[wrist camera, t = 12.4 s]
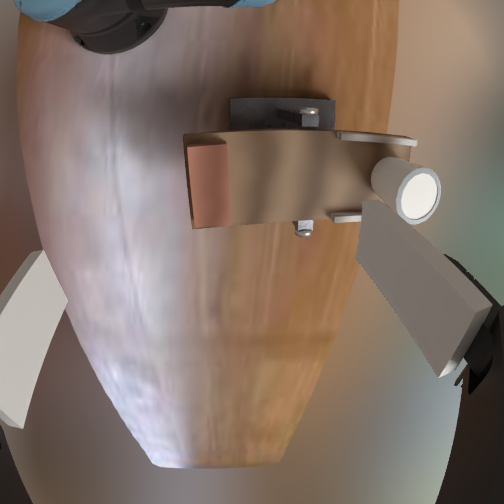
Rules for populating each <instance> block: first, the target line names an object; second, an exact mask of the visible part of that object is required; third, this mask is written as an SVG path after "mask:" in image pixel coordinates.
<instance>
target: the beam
mask: <svg viewBox="0 0 504 504" xmlns="http://www.w3.org/2000/svg"><path fill="white" fill-rule="evenodd" d="M183 144H184V156H185V167H186V178H187V187H188V197H189V206H190V215H191V223H192V229H201V228H212V227H224V226H236V225H248V224H261V223H274V222H289V221H303V220H319V219H331V220H332V221H333V222H334V223H340V222H357V221H361V216H362V205H363V201H366V200H377V199H379V200H380V201H382V202H383V203H384V204H385V205H387V204H386V203H385V202H384V201H383V200H382V199H381V198H380V197H379V196H378V195H377V194H376V193H375V192H374V190H373V188H372V185H371V175H372V171H373V169H374V167H375V165H376V164H377V163H378V162H379V161H380V160H382V159H384V158H387V157H394V158H398V159H401V160H405V161H408V162H409V159H410V150H411V146H417V140H415V139H412V138H409V137H406V136H398V135H390V134H381V133H371V132H359V131H344V130H324V129H302V128H295V129H249V130H228V131H213V132H201V133H190V134H184V135H183ZM387 206H388V205H387ZM388 207H389V206H388ZM389 208H390V207H389ZM390 209H391V208H390Z"/></svg>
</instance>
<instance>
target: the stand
mask: <svg viewBox="0 0 504 504" xmlns="http://www.w3.org/2000/svg"><path fill="white" fill-rule="evenodd" d="M229 107H230V130H249V129H295V128H302V129H324V130H334V125H335V100H324V99H308V98H270V97H265V98H229ZM292 222H293V224H294V226H295V234H296V235H297V236H299V237H310V236H311V235H312V230H313V220H303V221H292Z"/></svg>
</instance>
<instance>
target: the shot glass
mask: <svg viewBox="0 0 504 504" xmlns="http://www.w3.org/2000/svg"><path fill="white" fill-rule="evenodd" d="M371 185H372V188H373V190H374V192H375V193H376V194H377V195H378V196H379V197H380V198H381V199H382V200H383V201H384V202H385V203H386V204H387V205H388V206H389V207H390V208H391V209H392V210H393V211H394V212H395V213H397V214H398V215H399V216H400V217H401V218H403V219H404V220H405V221H406V222H407V223H409V224H419V223H421V222H423V221H425V220H426V219H428V218H429V217H430V216H431V215H432V214H433V212H434V211H435V209H436V207H437V206H438V203H439V199H440V195H441V184H440V181H439V178H438V176H437V174H436V173H434V172H433V171H432V170H431V169H429V168H426V167H423V166H420V165H417V164H414V163H411V162H408V161H405V160H401V159H398V158H394V157H387V158H384V159H382V160H380V161H379V162H378V163H377V164H376V165H375V167H374V169H373V171H372V175H371Z"/></svg>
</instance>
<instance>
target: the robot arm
mask: <svg viewBox="0 0 504 504" xmlns="http://www.w3.org/2000/svg"><path fill="white" fill-rule="evenodd" d="M274 1H275V0H14V2H15V5H16V7H17V8H18V9H19V10H20V11H21V12H22V13H23V14H25V15H28V16H30V17H31V18H32V19H33V20H35V21H39V22H42V21H43V22H47V23H50V24H53V25H56V26H59V27H62V28H65V29H67V30H70V31H71V34H72V36H73V38H74V39H75V41H76V42H77V43H78V44H79V45H80V46H82V47H83V48H85V49H87V50H89V51H92V52H95V53H99V54H116V53H121V52H125V51H127V50H130V49H132V48H134V47H136V46H138V45H140V44H141V43H143V42H144V41H146V40H147V39H148V38H149V37H151V36H152V35H153V34H154V33H155V32H156V30H157V29H158V28H159V27H160V25H161V24H162V22H163V20H164V18H165V16H166V14H167V10H168V8H174V7H191V6H223V7H224V8H233V7H262V6H265V5H268V4H271V3H273V2H274ZM356 259H357V260H358V262H359V263H360V264H361V265H362V267H363V268H364V270H365V271H366V272H367V274H368V275H369V276H370V278H371V279H372V280H373V282H374V283H375V284H376V286H377V287H378V288H379V290H380V291H381V293H382V294H383V295H384V297H385V298H386V299H387V301H388V302H389V304H390V305H391V307H392V308H393V309H394V311H395V312H396V314H397V315H398V317H399V318H400V320H401V321H402V323H403V324H404V325H405V327H406V328H407V330H408V331H409V333H410V334H411V336H412V337H413V339H414V340H415V342H416V343H417V345H418V346H419V348H420V349H421V351H422V353H423V354H424V356H425V357H426V359H427V361H428V362H429V364H430V365H431V367H432V369H433V370H434V372H435V374H436V375H437V377H438V378H439V377H441V376H443V375H446V374H448V373H450V372H452V371H454V370H455V369H456V368H457V366H458V365H459V363H460V362H461V360H462V359H463V357H464V359H465V360H466V361H467V363H468V364H467V365H466V367H465V368H464V370H463V371H462V372H461V374H460V375H459V377H458V378H457V380H456V382H455V384H454V385H455V386H457V385H458V384H459V383H460V381H461V380H462V379H463V384H462V386H461V387H462V394H461V402H460V408H459V415H458V420H457V426H456V431H455V436H454V441H453V445H452V450H451V454H450V458H449V461H448V465H447V469H446V472H445V476H444V479H443V482H442V486H441V489H440V492H439V495H438V498H437V500H436V503H435V504H504V306H501V305H499V303H498V302H497V301H496V300H495V299H494V298H493V297H492V296H491V295H490V294H489V293H488V292H487V291H486V290H485V288H484V287H483V286H482V285H481V284H480V283H479V282H478V281H477V280H476V279H475V280H474V277H473V276H472V275H471V274H470V273H469V272H467V270H466V269H465V268H464V267H463V266H462V265H461V264H460V263H459V262H458V261H456V260H454V259H453V258H451V257H449V256H447V255H446V254H442V253H441V252H440V251H439V250H438V249H437V248H436V247H435V246H433V245H432V244H431V243H430V242H429V241H428V240H427V239H426V238H425V237H424V236H422V235H421V234H420V233H419V232H418V231H417V230H416V229H414V228H413V227H412V226H411V225H410V224H409V223H407V222H406V221H405V220H404V219H403V218H401V217H400V216H399V215H398V214H397V213H395V212H394V211H393V210H392V209H390V208H389V207H388V206H387V205H385V204H384V203H383V202H382V201H380V200H379V199H377V200H366V201H363V205H362V216H361V225H360V234H359V243H358V251H357V258H356ZM67 302H68V300H67V298H66V296H65V294H64V292H63V290H62V288H61V286H60V284H59V282H58V280H57V278H56V276H55V274H54V272H53V270H52V267H51V265H50V263H49V261H48V258H47V256H46V254H45V252H44V250H40V251H35V252H31V253H30V255H29V256H28V257H27V259H26V260H25V261H24V263H23V264H22V265H21V267H20V268H19V269H18V271H17V272H16V273H15V275H14V276H13V278H12V279H11V281H10V282H9V284H8V285H7V287H6V288H5V289H4V291H3V292H2V294H1V295H0V418H1V419H2V420H3V421H4V422H6V423H7V424H8V425H9V426H13V427H17V428H21V429H23V427H24V422H25V419H26V415H27V411H28V408H29V404H30V401H31V397H32V394H33V391H34V387H35V384H36V381H37V378H38V375H39V372H40V369H41V366H42V363H43V360H44V358H45V355H46V352H47V350H48V347H49V345H50V342H51V339H52V337H53V335H54V332H55V330H56V327H57V325H58V323H59V320H60V318H61V316H62V313H63V311H64V309H65V307H66V304H67ZM0 504H33V503H32V501H31V499H30V497H29V495H28V493H27V491H26V489H25V487H24V485H23V482H22V480H21V478H20V475H19V473H18V471H17V468H16V466H15V463H14V460H13V458H12V455H11V452H10V450H9V447H8V444H7V441H6V438H5V435H4V431H3V429H2V427H1V425H0Z"/></svg>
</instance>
